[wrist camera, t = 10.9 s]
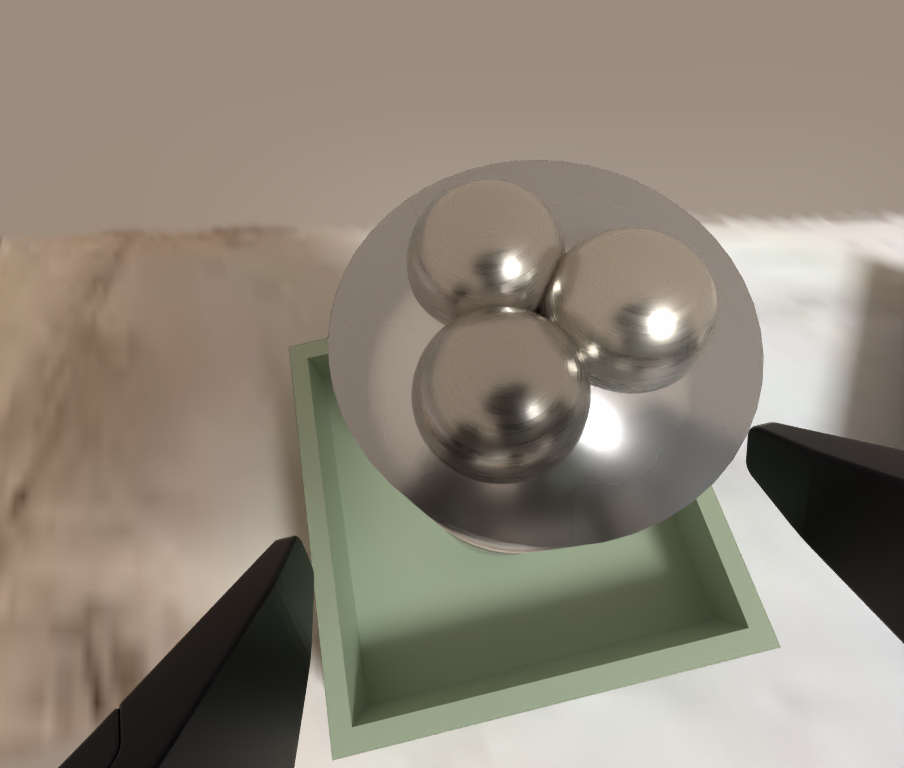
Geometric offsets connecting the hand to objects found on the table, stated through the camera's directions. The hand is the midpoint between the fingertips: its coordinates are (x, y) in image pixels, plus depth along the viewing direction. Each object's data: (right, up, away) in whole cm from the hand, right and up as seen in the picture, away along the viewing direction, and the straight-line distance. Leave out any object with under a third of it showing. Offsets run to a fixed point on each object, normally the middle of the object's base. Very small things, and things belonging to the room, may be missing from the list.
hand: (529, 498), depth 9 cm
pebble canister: (0, -1, +7) cm, 7 cm away
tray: (0, -2, +8) cm, 8 cm away
